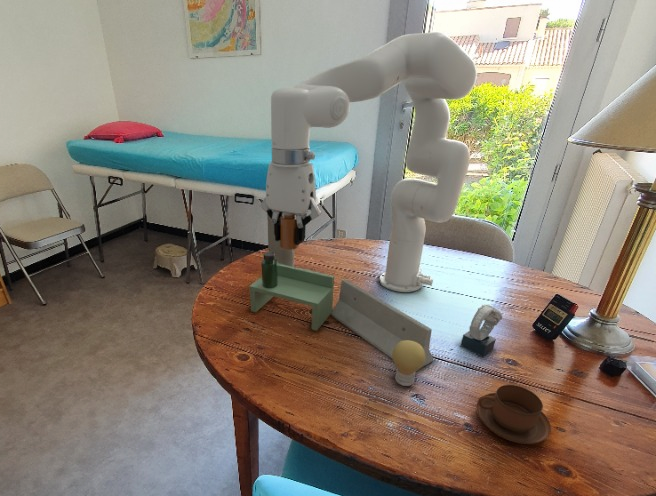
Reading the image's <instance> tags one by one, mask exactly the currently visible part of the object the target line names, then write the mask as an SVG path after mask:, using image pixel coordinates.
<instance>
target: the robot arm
mask: <svg viewBox="0 0 656 496" xmlns="http://www.w3.org/2000/svg"><path fill="white" fill-rule="evenodd" d="M476 66H477V65H476V63H475V62H474V60H473V58H472V57H471V56H470V55H469V54H468V53H467V52H466V51H465V50H464V49H463V48H462V47H461V46H460V45H459V44H458V43H457V41H455V40H454V39H452V38H451V37H450V36H448V35H446V34H445V33H444V32H443V33H442V32H440V31H431V32H430V31H429V32H419V33H408V34H403V35H400V36H397V37H396V38H394V39H392V40H390V41H389V42H386V43H385V44H383V45H381V46H379V47H378V48H376V49H374V50H373V51H370V52H369V53H367V54H364V55H363V56H361V57H359V58H356V59H353V60H350V61H347V62H345V63H343V64H339V65H336V66H334V67H331V68H328V69H325V70H323V71H321V72H318V73H315V74H314V75H312V76H310V77H308V78H306V79H305V80H302V81H301V82H299V83H297V84H296V85H295V86H293V87H291V88H290V87H285V88H277V89H275V90H274V91H272V93H271V96H270V125H271V126H270V127H271V129H270V130H271V131H270V133H271V134H270V135H271V161H270V162H269V163H268V168H267V174H266V182H265V197H264V199H263V200H262V201H261V203H260V208H261V209H262V210H263V211H264V212H265V213H266V214H268V215H269V217H270V218H271V219H272V223H274V235H275V241H279V240H280V217H281V216H282V215H283V212H287V213H293V214H295V215H296V220H297V227H296V228H295V244H296V245H299V246H300V244H302V243H303V242H304V241H305V240H306V229H307V228H306V227H307V225H308V224H309V223H310V222H311V221H313V220H315V219H316V218H318V217H319V216H321V215H322V212H321V210H320V208H319V207H318V204H317V192H316V190H317V189H316V177H315V170H314V169H315V168H314V164H313V162H310V160H315V157H316V153H315V152H313V151H311V147H310V134H311V133H310V130H311V128H325V129H331V128H335V127H337V126H339V125H341V124H343V122H344V121H345V120H346V119H347V117H348V116H349V114H350V113H349V112H350V107H351V104H350V103H356V102H363V101H368V100H372V99H376V98H378V97H380V96H382V95H383V94H385V93H386V92H388V91H389V90H390V89H392V88H394V87H395V86H396V87H397V85H399V84H401V83H402V82H404V83H403V85H404V88H405V90H406V92H407V94H408V96H409V97H410V99H411V102H412V104H413V105H412V106H413V108H414V122H413V127H412V130H411V136H410V138H409V139H410V140H409V144H408V148H407V152H406V158H405V167H406V168H407V169H408V171H409V172H411V173H414V174H417V175H421V176H422V175H423V176H426V177H431V178H436V179H437V183H436V182H432V181H428V180H423V179H419V178H413V177H410V178H407V177H406V178H403V179H401V180H399V181H397V183H395V185H394V186H393V188H392V190H391V198H390V201H391V203H390V205H391V226H390V236H389V243H388V249H387V258H386V265H385V271H384V272H383V273H381V274H380V276H379V279H378V281H379V283H380V285H381V286H383V288H385V289H388V290H390V291H394V292H399V293H412V292H416V291H418V290H420V289H421V288H422V286H423V285H425V286H429V287H433V283H434V279H432V278H431V276H430V275H425V274H423V273H422V269H421V268H420V267H421V261H422V254H423V249H424V243H425V238H426V233H427V229H426V222H425V220H427V221H430V222H435V223H445V222H447V221H449V220H450V219H451V218H452V217H453V215H454V214H455V212H456V209H457V208H458V203H459V200H460V198H461V195H462V190H463V186H464V183H465V180H466V177H467V174H468V170H469V166H470V161H471V152H470V149H469V147H468V145H467V144H466V143H465V142H463V141H460V140H456V139H449V138H447V136H448V135H447V134H448V130H449V126H450V121H451V111H450V108H449V104H448V102H447V100H460V99H463V98H465V97H467V96H468V95H469V94H470V93H471V92H472V90H473V89H474V87H475V84H476V82H477V77H478V76H477V75H478V73H477V67H476ZM309 211H310V213H309V214H307V213H308V212H309Z"/></svg>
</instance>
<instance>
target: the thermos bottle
mask: <svg viewBox="0 0 656 496" xmlns="http://www.w3.org/2000/svg"><path fill="white" fill-rule="evenodd" d="M266 214H267V213H266ZM283 215H284V214H283ZM266 216H267V247H268V249H267V250H268V251H267V252H274V253H275V259H276V260H277V263H279V264H283V265H288V266H292V267H295V249H292V250H287V249H283V248H281V247H280V240H279V241H275V235H274V223H272V219H271V218H270V217H269V215H268V214H267V215H266Z"/></svg>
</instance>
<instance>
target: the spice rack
mask: <svg viewBox="0 0 656 496" xmlns="http://www.w3.org/2000/svg"><path fill="white" fill-rule="evenodd" d="M277 268H278V285H277V286H276V287H274V288H265V287H263V286H262V276H260V277H259V278H258V279H256V280H255V281H254V282H252V283H251V284H250V285H249V299H250V300H249V301H250V312H253V313H257V312H258V311H259V310H260V309H261V308H263V307H264V306H265V305H266V304H267V303H268V302H269V301H271V299H273V298H279V299H283V300H286V301H290V302H294V303H297V304H301V305H304V306H309V307H311V330H314V331H318V330H319V329H320V328H321V327H322V325H323V324H324V323H325V321H326V320H327V319H328V318H329V316H331V313H332V311H333V301H334V288H335V287H334V285H335V275H333V274H328V273H322V272H318V271H314V270H310V269H305V268H300V267H296V266H294V267H292V266H288V265H283V264H279V263H277Z"/></svg>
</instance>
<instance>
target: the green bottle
mask: <svg viewBox="0 0 656 496" xmlns="http://www.w3.org/2000/svg"><path fill="white" fill-rule="evenodd" d="M260 264H261V266H260V267H261V277H262V286H263V287H265V288H274V287H276V286H277V285H278V268H277V260H276V259H275V253H274V252H268V251H264V253H263V259H262V260H261V263H260Z"/></svg>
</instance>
